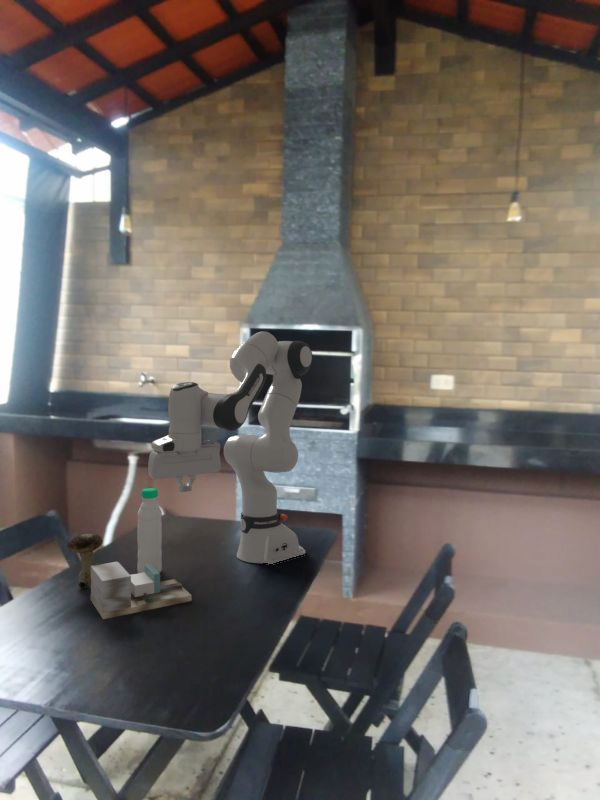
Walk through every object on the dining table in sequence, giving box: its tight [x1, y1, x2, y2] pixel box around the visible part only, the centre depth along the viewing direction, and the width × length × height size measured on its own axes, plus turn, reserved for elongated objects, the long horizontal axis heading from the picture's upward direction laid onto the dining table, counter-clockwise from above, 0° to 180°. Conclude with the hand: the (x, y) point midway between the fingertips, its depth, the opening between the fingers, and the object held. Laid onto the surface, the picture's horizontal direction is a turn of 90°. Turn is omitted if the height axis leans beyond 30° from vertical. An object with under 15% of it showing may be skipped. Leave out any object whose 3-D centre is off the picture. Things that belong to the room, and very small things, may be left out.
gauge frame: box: [90, 561, 193, 620], centre depth 164 cm, size 23×13×10 cm, turn 121°
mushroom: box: [66, 533, 104, 589], centre depth 172 cm, size 9×9×15 cm
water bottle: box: [136, 487, 163, 574], centre depth 184 cm, size 7×7×25 cm
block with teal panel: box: [129, 564, 161, 598], centre depth 163 cm, size 7×10×5 cm, turn 32°
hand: (185, 491), depth 173 cm, fingers closed
